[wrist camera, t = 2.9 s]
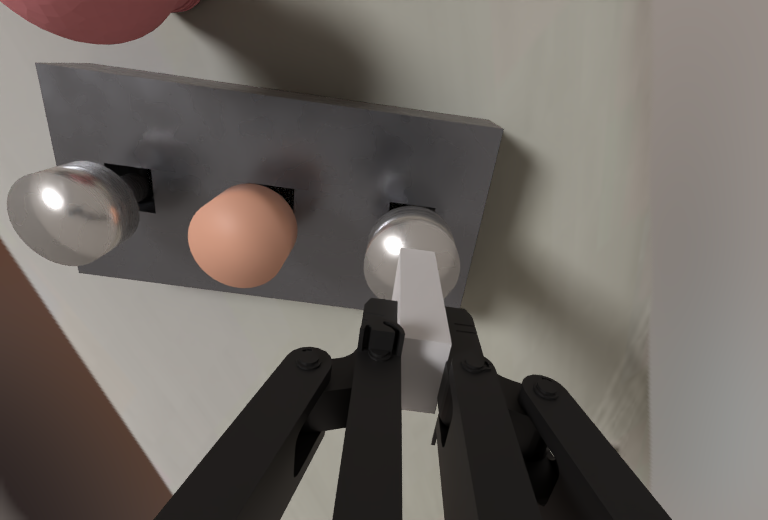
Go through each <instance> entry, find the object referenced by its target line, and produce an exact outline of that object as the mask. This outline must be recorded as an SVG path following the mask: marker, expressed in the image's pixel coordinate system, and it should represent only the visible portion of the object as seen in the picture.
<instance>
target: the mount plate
mask: <svg viewBox="0 0 768 520" xmlns="http://www.w3.org/2000/svg"><path fill="white" fill-rule="evenodd" d="M35 64H36V69H37V74H38V79H39V83H40V88H41V93H42V98H43V103H44V107H45V112H46V117H47V122H48V127H49V131H50V136H51V141H52V146H53V150H54V155H55V160H56V165H57V166H60V165H63V164H66V163H70V162H74V161H89V162H94V163H97V164H100V165H102V166H105V167H107V168H108V169H110V170H112V171H113V172H115V173H116V174H117V175H119V176H123V175H125V174H128V173H137V174H139V175H141V176H142V177H143V178H145V180H146V181H147V182H148V178H147V169H151V174H152V183H153V189H150V191H149V195H148V196H147V197H146V198H145V199H143V200H141V201H139V202H137V203H138V206H139V213H140V218H139V224H138V227H137V230H136V231H135V233H134V234H133V235H132V236H131V237H130V238H129V239H128V240H126V241H125V242H123V243H122V244H120V245H119V246H117V247H115V248H114V249H112V250H111V251H109V252H108V253H106V254H105V255H103V256H101V257H100V258H98V259H97V260H95V261H93V262H91V263H89V264H86V265H81V266H78V270H79V273H84V274H92V275H100V276H108V277H115V278H123V279H131V280H138V281H146V282H154V283H161V284H169V285H177V286H184V287H192V288H200V289H207V290H215V291H223V292H231V293H238V294H246V295H254V296H261V297H269V298H277V299H284V300H292V301H300V302H307V303H315V304H323V305H331V306H338V307H346V308H354V309H361V310H364V305H365V303H366V302H367V301H368V300H369V299H370V298H378V297H377V296H376V295H375V294H374V293H373V292H372V291H371V289H370V288H369V286H368V284H367V281H366V279H365V275H364V259H365V254H366V248H367V243H368V238H369V234H370V231H371V229H372V227H373V226H374V224H375V223H376V222H377V221H378V219H379V218H380V217H382V216H383V215H384V214H386V213H387V212H389V205H390V202H394V203H402V204H409V205H416V206H424V207H427V209H429V210H431V211H433V212H435V213H437V214H438V215H439V216H440V217H442V218H443V219H444V221H445V222H446V223H447V225H448V226H449V228H450V230H451V232H452V235H453V239H454V242H455V245H456V248H457V252H458V255H459V259H460V273H459V277H458V281H457V283H456V285H455V287H454V288H453V290H452V291H451V292H450V293H449V294H448V295H447V296H446V297H445V298H444V299H443V300H444V305H445V306H446V307H454V308H460V305H461V301H462V297H463V293H464V289H465V285H466V281H467V277H468V273H469V269H470V265H471V260H472V256H473V252H474V248H475V244H476V240H477V236H478V232H479V228H480V224H481V220H482V216H483V211H484V207H485V203H486V199H487V195H488V191H489V187H490V183H491V179H492V175H493V171H494V167H495V162H496V158H497V154H498V150H499V146H500V142H501V138H502V134H503V130H504V129H503V128H501V127H500V126H498V125H496V124H495V123H493V122H491V121H490V120H486V119H479V118H472V117H465V116H458V115H451V114H444V113H437V112H430V111H422V110H415V109H408V108H401V107H394V106H387V105H380V104H373V103H366V102H359V101H352V100H345V99H338V98H331V97H324V96H317V95H310V94H303V93H296V92H289V91H282V90H275V89H267V88H260V87H253V86H246V85H239V84H232V83H225V82H218V81H211V80H204V79H197V78H190V77H183V76H176V75H169V74H162V73H155V72H148V71H141V70H134V69H127V68H120V67H113V66H105V65H98V64H91V63H35ZM248 183H249V184H257V185H261V186H264V187H267V188H268V185H270V186H277V187H284V188H292V189H294V209H293V208H291V209H292V211H293V213H294V215H295V218H296V221H297V230H298V232H297V239H296V242H295V245H294V247H293V249H292V250H291V252H290V254H289V255H288V257H287V259H286V260H285V262H284V264H283V266H282V267H281V269H280V270H279V272H278V273H277V275H276V276H275V277H274V278H272V279H271V280H270V281H268V282H267V283H265V284H263V285H260V286H257V287H252V288H237V287H231V286H228V285H225V284H223V283H220V282H218V281H217V280H215V279H213V278H212V277H210V276H209V275H208V274H207V273H205V272H204V271H203V270H202V269H201V267H200V266H199V265H198V264H197V262H196V261H195V259H194V257H193V255H192V253H191V251H190V247H189V242H188V229H189V225H190V222H191V220H192V218H193V216H194V215H195V213H196V212H197V211H198V210H199V209H200V208H201V207H203V206H204V205H205V204H207V203H208V202H210V201H211V200H212V199H214V198H215V197H217V196H218V195H219V194H221V193H222V192H224V191H225V190H226V189H228V188H230V187H232V186H235V185H239V184H248ZM378 299H379V298H378Z"/></svg>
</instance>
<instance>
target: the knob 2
mask: <svg viewBox="0 0 768 520" xmlns="http://www.w3.org/2000/svg"><path fill="white" fill-rule="evenodd" d="M297 232H298V230H297V221H296V218H295V215H294V213H293V211H292V209H291V207H290V206H289V204H288V203H287V202H286V200H285V199H284V197H283V196H282V195H280V194H279V193H276V192H275V191H273V190H271V189H269V188H267V187H264V186H261V185H257V184H249V183H248V184H239V185H235V186H232V187H230V188H228V189H226V190H225V191H224V192H222V193H221V194H219V195H218V196H217V197H215V198H214V199H212V200H211V201H210V202H208V203H207V204H205V205H204V206H203V207H201V208H200V209H199V210H198V211H197V212H196V213H195V215H194V216H193V218H192V220H191V222H190V225H189V229H188V242H189V247H190V251H191V253H192V255H193V257H194V259H195V261H196V262H197V264H198V265H199V266H200V267H201V269H202V270H203V271H204V272H205V273H207V274H208V275H209V276H210V277H212V278H213V279H215V280H217V281H218V282H220V283H223V284H225V285H228V286H231V287H237V288H252V287H257V286H260V285H263V284H265V283H267V282H268V281H270V280H271V279H272V278H274V277H275V276H276V275H277V273H278V272H279V270H280V269H281V267H282V266H283V264H284V262H285V260H286V259H287V257H288V255H289V254H290V252H291V250H292V249H293V247H294V245H295V242H296V239H297Z"/></svg>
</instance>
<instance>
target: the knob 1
mask: <svg viewBox="0 0 768 520" xmlns="http://www.w3.org/2000/svg"><path fill="white" fill-rule="evenodd" d="M149 191H150V188H149V184H148V182H147V181H146V180H145V178H143V177H142V176H141V175H139V174H137V173H128V174H125V175H123V176H119V175H117V174H116V173H115V172H113V171H112V170H110V169H108V168H107V167H105V166H102V165H100V164H97V163H94V162H89V161H74V162H70V163H66V164H63V165H60V166H56V167H53V168H49V169H46V170H43V171H39V172H36V173H32V174H29V175H26V176H24V177H22V178H20V179H19V180H17V181H16V182H15V183H14V184H13V186H12V187H11V189H10V191H9V194H8V197H7V210H8V215H9V218H10V221H11V223H12V225H13V227H14V229H15V231H16V232H17V234H18V235H19V237H20V238H21V239H22V240H23V241H24V242H25V243H26V244H27V245H28V246H29V247H30V248H31V249H32V250H34V251H35V252H36V253H38V254H39V255H41V256H42V257H44V258H46V259H48V260H50V261H53V262H55V263H59V264H62V265H68V266H81V265H86V264H89V263H91V262H93V261H95V260H97V259H98V258H100V257H101V256H103V255H105V254H106V253H108V252H109V251H111V250H112V249H114V248H115V247H117V246H119V245H120V244H122V243H123V242H125V241H126V240H128V239H129V238H130V237H131V236H132V235H133V234H134V233H135V231H136V230H137V227H138V224H139V218H140V213H139V206H138V203H137V202H139V201H141V200H143V199H145V198H146V197H147V196H148V195H149Z"/></svg>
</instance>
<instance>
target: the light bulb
mask: <svg viewBox="0 0 768 520" xmlns="http://www.w3.org/2000/svg"><path fill="white" fill-rule="evenodd" d="M0 1H1V2H2V3H3V4H5V5H6V6H7V7H8V8H10V9H11V10H12V11H14V12H15V13H17V14H18V15H20V16H21V17H23V18H24V19H26V20H27V21H29V22H31V23H33V24H34V25H36V26H38V27H40V28H42V29H44V30H46V31H49V32H51V33H54V34H56V35H59V36H61V37H64V38H67V39H71V40H74V41H78V42H85V43H92V44H108V45H110V44H119V43H124V42H128V41H132V40H135V39H138V38H141V37H143V36H145V35H146V34H148V33H150V32H152V31H153V30H155V29H156V28H157V27H158V26H160V25H161V24H162V22H163V21H164V20H165V19H166V18H167V17H168V16H169V14H170V13H174V12H183V11H187V10H189V9H192V8H193V7H194V6H195V5H197V4H198V3H199V1H200V0H0Z"/></svg>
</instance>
